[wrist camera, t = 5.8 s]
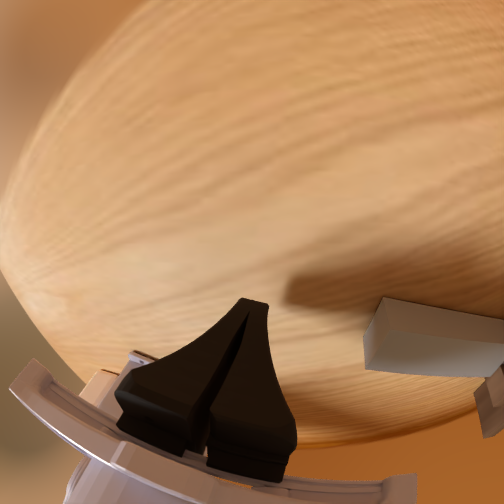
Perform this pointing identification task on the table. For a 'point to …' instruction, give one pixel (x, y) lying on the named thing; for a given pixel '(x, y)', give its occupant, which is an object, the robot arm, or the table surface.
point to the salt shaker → (98, 387)
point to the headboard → (491, 403)
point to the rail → (432, 341)
